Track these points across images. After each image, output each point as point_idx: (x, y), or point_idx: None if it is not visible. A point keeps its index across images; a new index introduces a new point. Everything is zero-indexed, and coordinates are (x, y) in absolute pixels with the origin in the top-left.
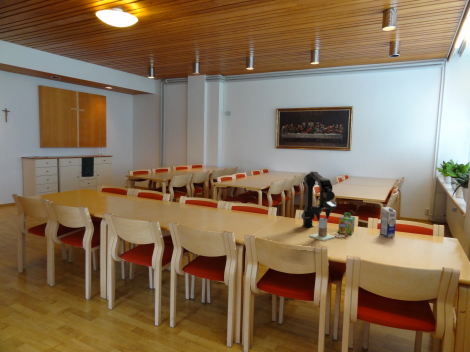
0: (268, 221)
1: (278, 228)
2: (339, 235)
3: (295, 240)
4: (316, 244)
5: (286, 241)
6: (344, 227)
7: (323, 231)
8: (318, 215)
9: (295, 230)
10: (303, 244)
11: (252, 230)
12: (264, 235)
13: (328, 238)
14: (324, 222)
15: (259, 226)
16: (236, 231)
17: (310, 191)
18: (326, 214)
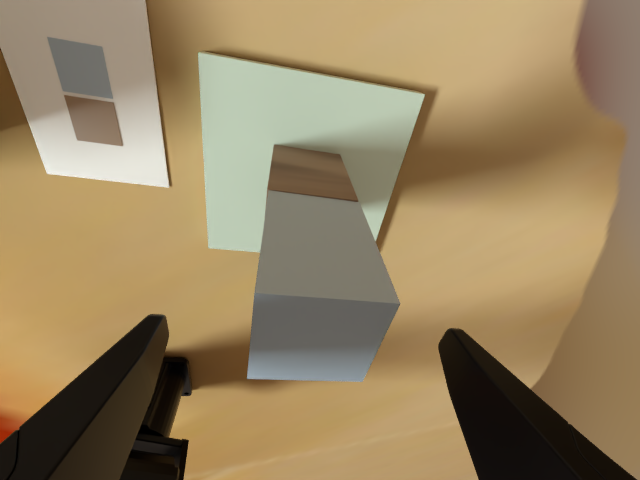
0: (277, 470)
1: (344, 414)
2: (62, 53)
3: (521, 265)
4: (568, 88)
5: (568, 287)
6: None
7: (341, 179)
8: (595, 462)
9: None
10: (605, 177)
11: (452, 436)
12: None
13: (337, 77)
14: (344, 255)
15: (377, 450)
16: None
17: None
18: (122, 444)
